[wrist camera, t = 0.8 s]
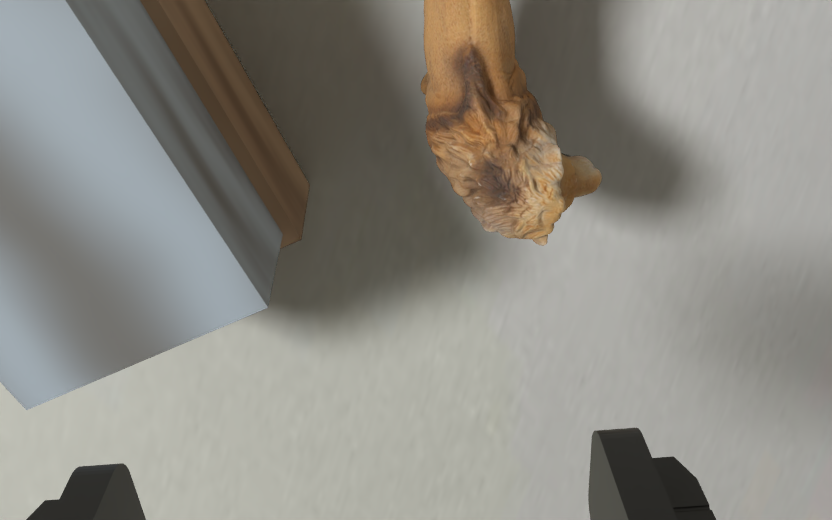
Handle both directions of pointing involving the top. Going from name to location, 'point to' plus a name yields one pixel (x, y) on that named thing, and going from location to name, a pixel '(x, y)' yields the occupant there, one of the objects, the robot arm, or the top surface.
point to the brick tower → (129, 188)
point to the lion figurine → (494, 123)
